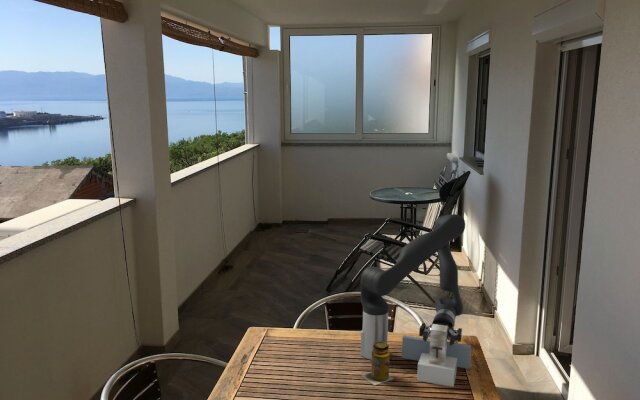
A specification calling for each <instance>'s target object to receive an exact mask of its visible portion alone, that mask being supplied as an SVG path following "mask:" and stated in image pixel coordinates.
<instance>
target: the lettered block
mask: <svg viewBox="0 0 640 400" xmlns="http://www.w3.org/2000/svg"><path fill="white" fill-rule="evenodd" d="M431 325H432V327H431V332H430V337H429V339H430V354H429V363H431V364H437V365H443V366H444V364H445V361H446V348H447V342H448V339H447V329H448V326H444V325H437V324H432V323H431Z"/></svg>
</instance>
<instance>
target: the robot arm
mask: <svg viewBox="0 0 640 400" xmlns="http://www.w3.org/2000/svg"><path fill="white" fill-rule="evenodd" d="M433 227H434V229H433V230H431V231H429V232H426V233H424V234H421V235H419V236H417V237H415V238H414V239H412V240H411V241H410V242H408V243H407V244H405V245H404V246H403V247H402V249H401V251H400V252H399V256H398V260H397V261H396V263H395V264H394V265H392V266H391V267H390V268H388V269H382V268H380V267H377V266H374V265H373V266H372V265H371V266H367V267H366V268H365V269H364V270H363V272H362V274H361V275H360V276H361V277H360V302H361V305H362V330H361V332H360V357H364V358H365V359H367V360H371V361H372V351H373V344H374V343H375V342H386V343H387V344H388V335H389V334H388V333H389V332H388V331H389V330H388V329H389V303H388V302H387V301H386V300H385V298H383V297H384V296H387V295H389V294H391V292H392V291H393V290H394V289H395V288H397V286H398V285H400V284H401V282H402V281H403V280H404V279H405V278H407V276H409V275H410V274H411V273H412V272H413V271H415V270H416V269H417V268H419V266H421V265H423V264H424V263H425V262H426V261H427V260H429V259H430V258H432V256H433V255H435V254H436V253H437V256H438V264H439V288H440V290H441V291H443V292H448V293H450V294H452V297H449V296H446V297H445V296H442V297H441V296H439V297H438V298H436V300H435V301H434V307H435V309H434V310H435V312H436V313H435V315H434V317H433V319H432V323H431V324H430V325H427V323H425V322H422V323H421V325H420V327H419V329H418V330H419V333H418V334H419V335H418V336H419V337H422V338H423V340H424V342H427V339H429V338H430V332H431V327H432V324H437V325H444V326H448V329H447V341H449V342H450V346H452V344H453V345H454V343H456V341H457V343H461V342H462V335H463V334H462V333H463V329H462V328H458V329H454V328H455V325H456V317H459V316H461V315H462V314H463V311H464V306H463V302H462V298H461V295H460V291H459V272H458V266H457V262H456V260H455V258H454V257H453V255H452V252H451V246H450V245H451V244H450V243H451V242H452V241H453V240H455V239H457V238H459V237H460V236H462V234H463V233H464V232H465V230H466V221H465V219H464V217H463V216H461V215H460V214H457V213H456V214H455V213H451V214H446V215H441V216H438V217H437V218H436V219H435V221H434V226H433Z"/></svg>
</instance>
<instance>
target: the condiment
mask: <svg viewBox="0 0 640 400" xmlns="http://www.w3.org/2000/svg"><path fill="white" fill-rule="evenodd" d="M389 347H390V346H389V344H388V342H387V343H386V342H375V343H374V344H373V351H372V360H371V364H370V365H371V368H370V369H371V371H370V372H368V373H366V374H363V375H362V374H361V377H362V378H363V379H364V380H366V381H367V382H369V383H371V384H372V385H374V386H378V385H380V384H383V383H386V382H389V381H392V380H394V379H395V378H394V377H393V376H391V375H390V356H391V355H390V350H389V349H390V348H389Z"/></svg>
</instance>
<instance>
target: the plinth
mask: <svg viewBox="0 0 640 400" xmlns="http://www.w3.org/2000/svg"><path fill="white" fill-rule="evenodd" d="M457 370H458V367H457V358H454V357H447V356H446V361H445V364H444V366H443V365H437V364H431V363H429V354H428V353H422V354H421V357H420V360H419V361H418V363H417V376H416V380H417V382H423V383H429V384H435V385H439V386H445V387H451V388H454V387H455V383H456V378H457Z"/></svg>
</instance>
